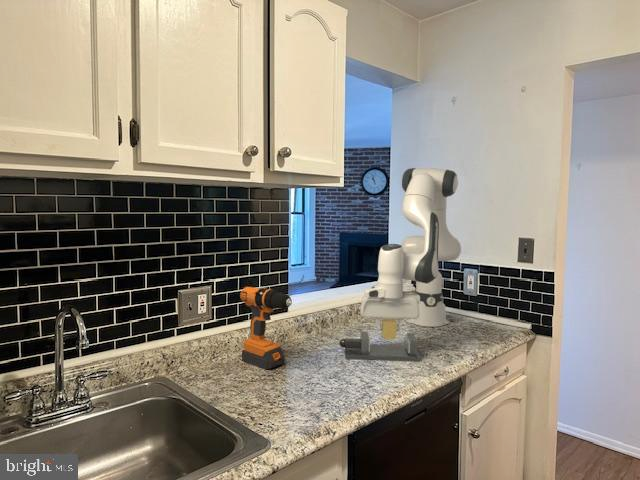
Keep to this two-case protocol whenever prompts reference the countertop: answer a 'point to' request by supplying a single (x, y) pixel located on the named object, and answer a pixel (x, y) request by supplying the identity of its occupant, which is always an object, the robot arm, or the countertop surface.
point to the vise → (388, 351)
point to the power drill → (262, 326)
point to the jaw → (358, 343)
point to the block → (389, 328)
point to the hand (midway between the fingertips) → (388, 330)
